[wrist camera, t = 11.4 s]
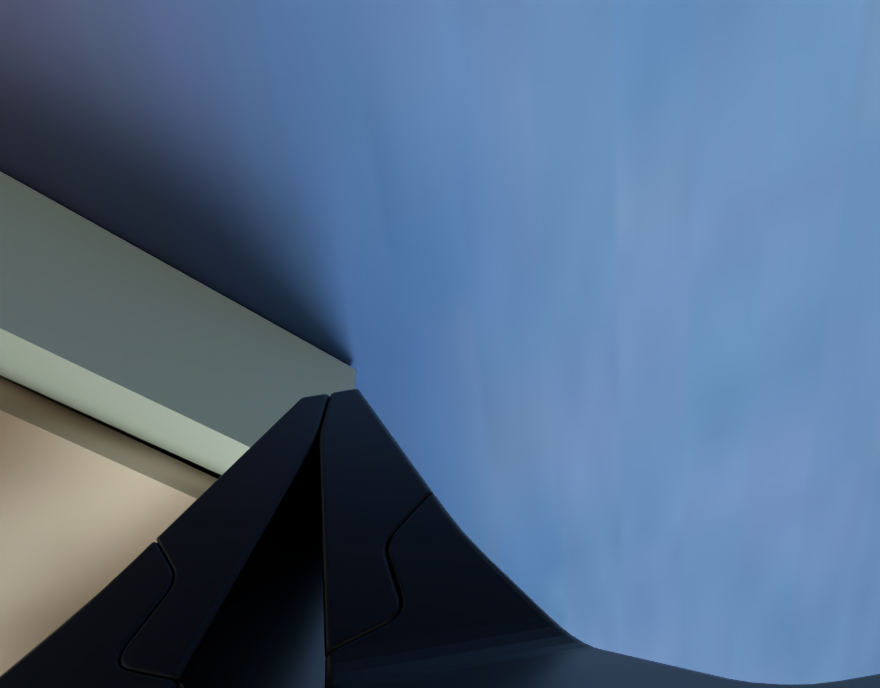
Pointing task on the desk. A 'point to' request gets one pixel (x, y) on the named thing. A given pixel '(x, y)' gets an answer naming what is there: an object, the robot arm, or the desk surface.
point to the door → (142, 338)
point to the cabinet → (74, 510)
